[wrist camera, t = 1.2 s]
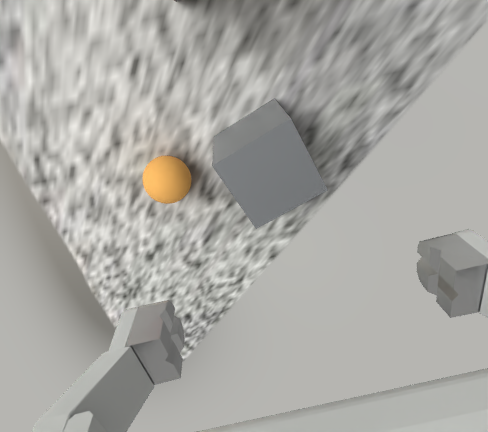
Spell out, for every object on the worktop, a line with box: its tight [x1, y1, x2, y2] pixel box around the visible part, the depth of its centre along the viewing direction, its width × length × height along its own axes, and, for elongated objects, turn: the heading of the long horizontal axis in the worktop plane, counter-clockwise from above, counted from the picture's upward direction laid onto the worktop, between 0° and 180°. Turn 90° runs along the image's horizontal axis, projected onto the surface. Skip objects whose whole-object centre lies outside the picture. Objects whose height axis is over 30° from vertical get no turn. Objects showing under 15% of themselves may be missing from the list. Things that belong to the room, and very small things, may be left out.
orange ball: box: [143, 156, 191, 203], centre depth 34 cm, size 5×5×5 cm
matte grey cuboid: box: [212, 99, 328, 229], centre depth 31 cm, size 7×7×9 cm
